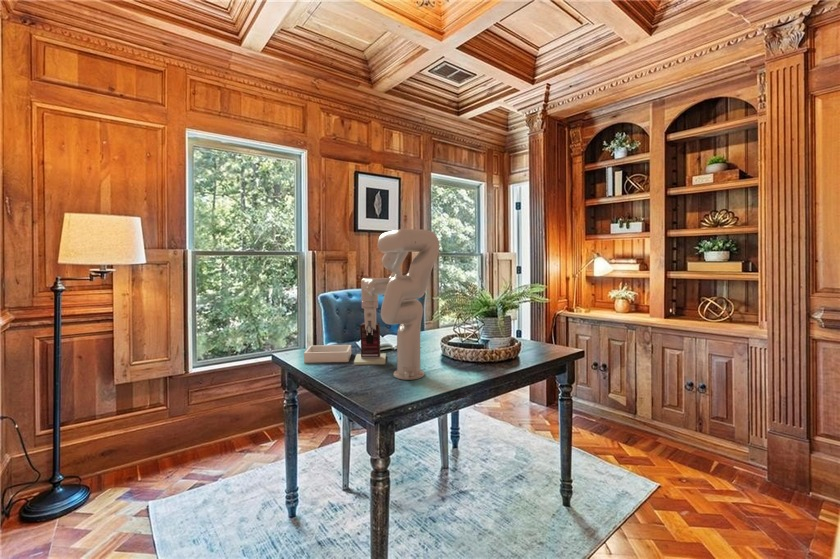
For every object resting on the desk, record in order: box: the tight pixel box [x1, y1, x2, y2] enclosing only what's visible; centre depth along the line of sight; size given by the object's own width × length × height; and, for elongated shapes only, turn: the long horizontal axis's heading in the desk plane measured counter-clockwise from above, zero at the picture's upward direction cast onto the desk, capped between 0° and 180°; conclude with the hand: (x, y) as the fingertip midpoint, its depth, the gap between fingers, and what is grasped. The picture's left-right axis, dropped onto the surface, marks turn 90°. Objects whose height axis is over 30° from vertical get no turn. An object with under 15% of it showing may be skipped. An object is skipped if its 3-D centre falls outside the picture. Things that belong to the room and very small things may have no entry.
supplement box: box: [360, 322, 381, 359], centre depth 189 cm, size 9×5×16 cm, turn 87°
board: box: [353, 352, 387, 366], centre depth 190 cm, size 14×14×1 cm
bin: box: [303, 344, 352, 364], centre depth 193 cm, size 14×20×4 cm
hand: (370, 341), depth 189 cm, fingers open, 9 cm apart
